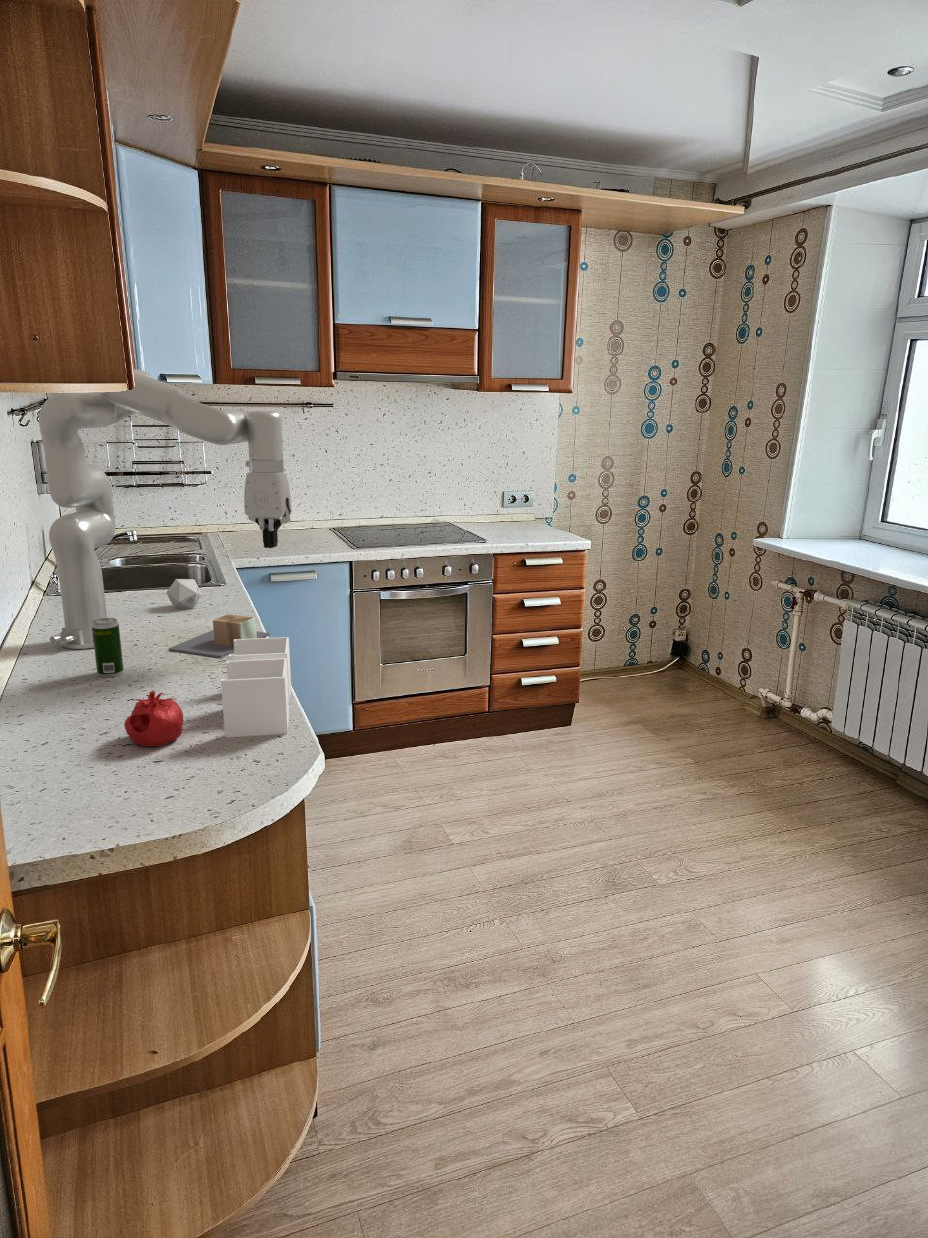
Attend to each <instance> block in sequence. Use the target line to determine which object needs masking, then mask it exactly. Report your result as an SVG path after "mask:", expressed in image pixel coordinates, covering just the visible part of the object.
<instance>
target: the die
mask: <svg viewBox="0 0 928 1238" xmlns="http://www.w3.org/2000/svg"><path fill="white" fill-rule="evenodd" d="M165 593H166V595H167V597H168V599H169V601H170V603H171V605H172V606H173V608H174V609H175V610H194V609H195V607H196V605H197V604H198V603H199V601H200V600H201V598H202V597H203V594H202V592H201V589H200V588H199V586H198V584H197V582H196V580H195V579H194V578H192V579H191V578H190V579H189V578H188V579H187V578H175V579H174V581H173V583H172V584H171V585H170V587H169V588H168V590H167V591H166V592H165Z"/></svg>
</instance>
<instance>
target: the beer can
mask: <svg viewBox="0 0 928 1238" xmlns="http://www.w3.org/2000/svg"><path fill="white" fill-rule="evenodd" d="M92 624H93V625H92V634H93V643H94V648H93V650H94V656H95V658H94V659H95V667H96V668H95V669H96V673H97V674H98V676H99V677H101V678H114V677H117V676H120V675H122V674H123V672H124V660H123V659H124V658H123V652H122V642H121V634H120V632H121V631H120V624H119V622H118V618H114V617H107V618H101V619H96V620H94V621H93V622H92Z"/></svg>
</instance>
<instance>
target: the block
mask: <svg viewBox="0 0 928 1238" xmlns="http://www.w3.org/2000/svg"><path fill="white" fill-rule="evenodd" d="M256 620H257V619H256V617H253V616H245V615H238V614H237V615H236V614H230V613H229V614H225V615H223V616H220V617H218V618H216V619H213V620H212V626H213V630H214V641H215V644H217V645H225V646H232V647H234V639H256V638H257V632H256V631H257V621H256Z"/></svg>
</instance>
